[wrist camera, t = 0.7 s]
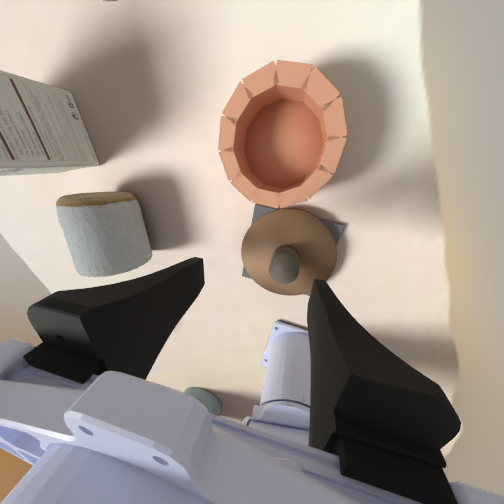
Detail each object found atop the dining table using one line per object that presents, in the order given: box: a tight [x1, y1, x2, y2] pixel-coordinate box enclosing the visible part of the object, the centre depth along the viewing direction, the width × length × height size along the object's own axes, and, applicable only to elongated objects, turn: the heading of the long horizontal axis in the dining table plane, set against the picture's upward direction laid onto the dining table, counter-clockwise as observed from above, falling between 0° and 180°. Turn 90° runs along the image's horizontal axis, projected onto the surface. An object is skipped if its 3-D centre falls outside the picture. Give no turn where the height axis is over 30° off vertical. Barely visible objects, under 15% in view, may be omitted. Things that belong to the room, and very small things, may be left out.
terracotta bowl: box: [218, 60, 347, 208], centre depth 16 cm, size 9×9×4 cm
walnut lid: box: [241, 209, 337, 295], centre depth 20 cm, size 10×10×4 cm
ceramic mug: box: [56, 192, 152, 277], centre depth 22 cm, size 11×8×8 cm
